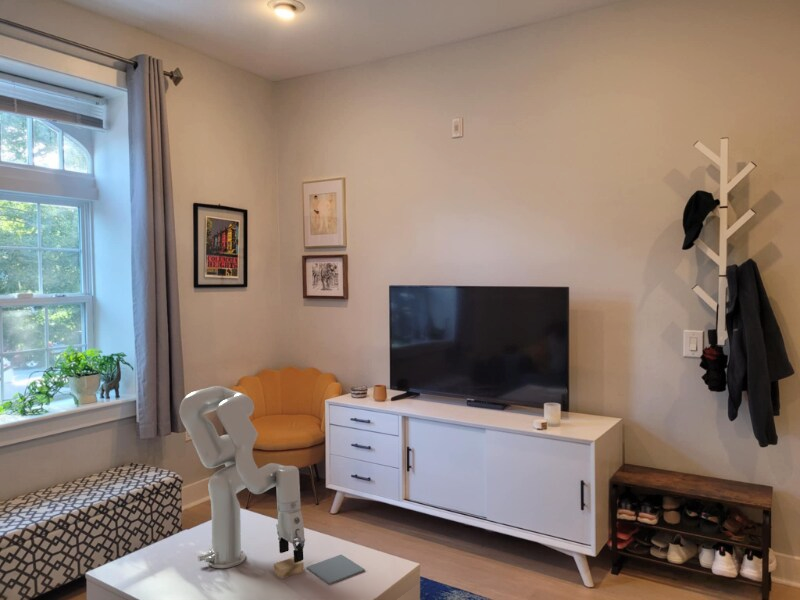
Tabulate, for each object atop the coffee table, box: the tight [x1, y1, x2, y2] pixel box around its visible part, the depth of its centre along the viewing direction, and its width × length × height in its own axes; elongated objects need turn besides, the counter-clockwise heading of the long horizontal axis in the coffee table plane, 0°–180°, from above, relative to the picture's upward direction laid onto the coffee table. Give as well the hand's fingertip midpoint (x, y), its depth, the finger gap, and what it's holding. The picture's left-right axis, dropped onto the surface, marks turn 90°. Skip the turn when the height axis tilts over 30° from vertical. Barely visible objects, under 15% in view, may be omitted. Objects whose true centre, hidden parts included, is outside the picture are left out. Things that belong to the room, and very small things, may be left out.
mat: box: [305, 554, 366, 586], centre depth 193 cm, size 14×14×1 cm
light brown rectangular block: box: [273, 556, 304, 580], centre depth 192 cm, size 8×6×3 cm
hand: (291, 556), depth 192 cm, fingers open, 9 cm apart
